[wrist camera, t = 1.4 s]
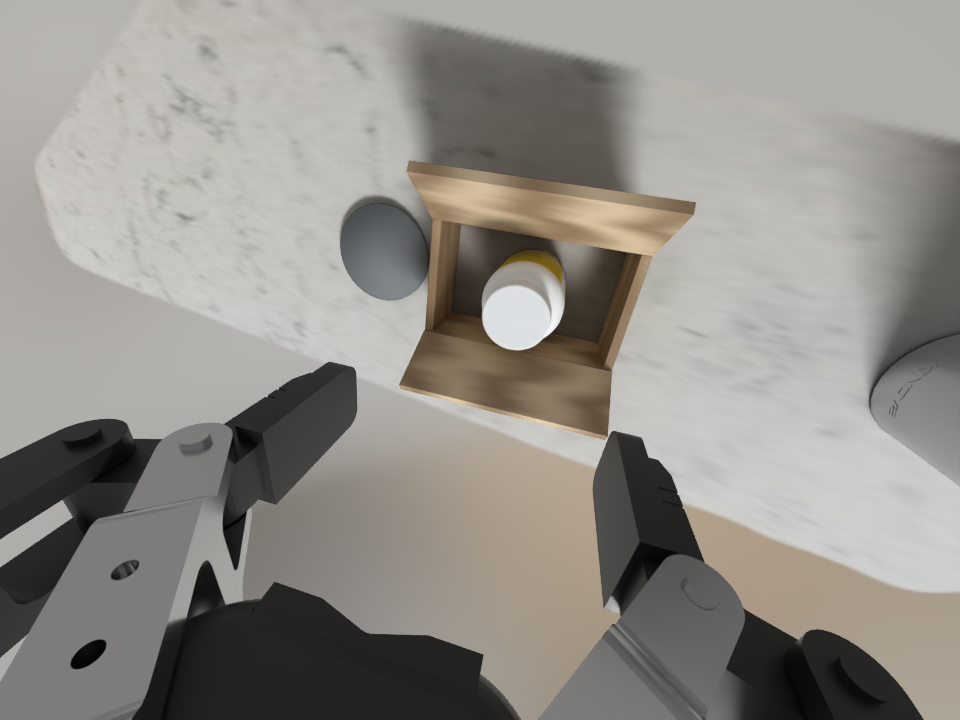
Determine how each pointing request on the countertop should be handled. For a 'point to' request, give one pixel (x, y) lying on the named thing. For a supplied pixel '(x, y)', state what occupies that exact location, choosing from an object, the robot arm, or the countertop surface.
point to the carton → (556, 358)
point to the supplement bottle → (524, 299)
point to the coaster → (384, 251)
